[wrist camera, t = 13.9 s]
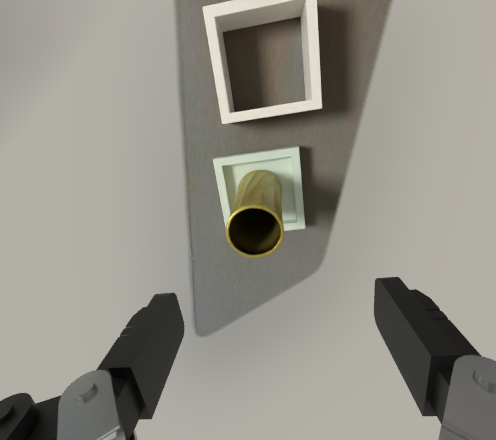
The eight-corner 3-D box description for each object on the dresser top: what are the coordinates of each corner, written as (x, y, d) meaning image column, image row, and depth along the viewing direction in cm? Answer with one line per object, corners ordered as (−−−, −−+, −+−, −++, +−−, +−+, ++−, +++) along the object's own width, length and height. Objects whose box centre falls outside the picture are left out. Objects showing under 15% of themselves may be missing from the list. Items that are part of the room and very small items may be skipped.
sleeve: (212, 23, 31) (202, 6, 26) (308, 4, 30) (315, -18, 25) (228, 123, 35) (222, 124, 30) (314, 109, 33) (322, 108, 29)
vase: (289, 199, 37) (301, 245, 24) (251, 219, 39) (242, 272, 25) (268, 161, 35) (268, 186, 22) (229, 183, 37) (207, 219, 24)
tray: (215, 157, 36) (212, 159, 35) (297, 145, 35) (298, 146, 33) (229, 231, 40) (227, 236, 38) (303, 223, 39) (305, 228, 37)
